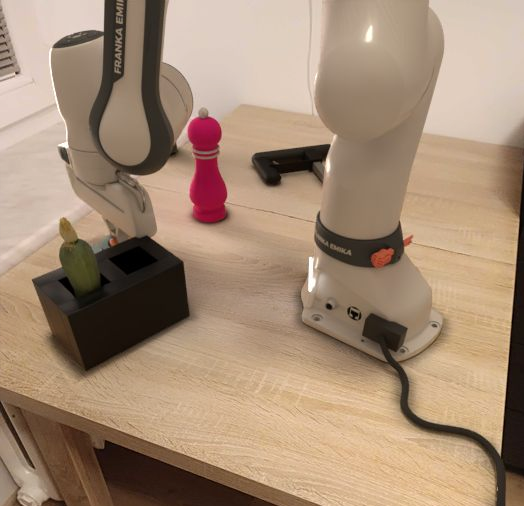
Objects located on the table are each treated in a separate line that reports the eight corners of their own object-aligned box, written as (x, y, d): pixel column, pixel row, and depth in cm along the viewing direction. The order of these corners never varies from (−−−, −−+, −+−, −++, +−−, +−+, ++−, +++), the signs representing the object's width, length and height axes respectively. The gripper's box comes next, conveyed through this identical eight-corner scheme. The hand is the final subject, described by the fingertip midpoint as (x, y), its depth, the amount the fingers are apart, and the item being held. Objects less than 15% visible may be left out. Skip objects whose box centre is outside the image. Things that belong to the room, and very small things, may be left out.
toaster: (189, 316, 76) (183, 261, 69) (86, 371, 68) (67, 316, 61) (153, 286, 82) (143, 232, 75) (52, 334, 73) (31, 279, 66)
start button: (137, 250, 85) (135, 241, 83) (118, 258, 83) (116, 249, 82) (126, 241, 87) (124, 232, 85) (107, 249, 85) (105, 240, 84)
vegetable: (90, 325, 75) (52, 202, 61) (118, 326, 74) (88, 203, 60) (81, 346, 71) (39, 221, 57) (111, 347, 71) (77, 222, 57)
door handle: (359, 172, 107) (329, 138, 117) (271, 184, 103) (248, 148, 113) (356, 186, 110) (328, 152, 120) (271, 199, 105) (248, 162, 115)
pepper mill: (222, 226, 95) (218, 117, 81) (186, 221, 96) (175, 113, 82) (232, 207, 100) (229, 102, 86) (197, 203, 101) (188, 98, 87)
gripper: (160, 177, 70) (171, 260, 80) (88, 133, 81) (105, 211, 90) (121, 191, 67) (137, 275, 77) (51, 143, 77) (73, 222, 87)
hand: (119, 240), depth 84 cm, fingers closed, pressing on start button
